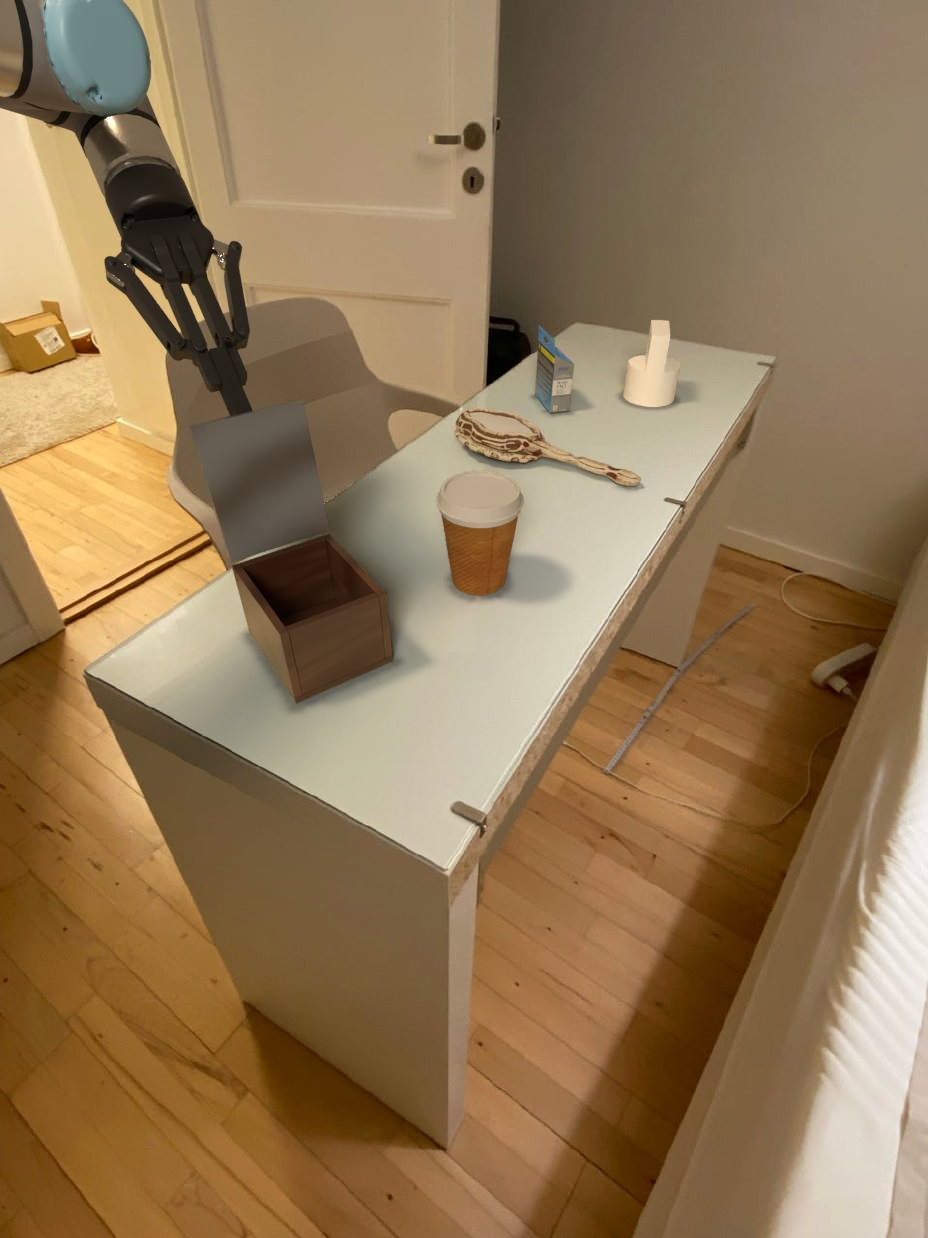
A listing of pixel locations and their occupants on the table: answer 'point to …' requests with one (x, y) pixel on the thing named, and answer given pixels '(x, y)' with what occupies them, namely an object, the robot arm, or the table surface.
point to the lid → (261, 478)
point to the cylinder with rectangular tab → (653, 371)
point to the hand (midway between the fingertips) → (243, 417)
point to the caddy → (314, 615)
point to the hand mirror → (522, 442)
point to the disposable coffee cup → (479, 528)
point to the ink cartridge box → (553, 375)
